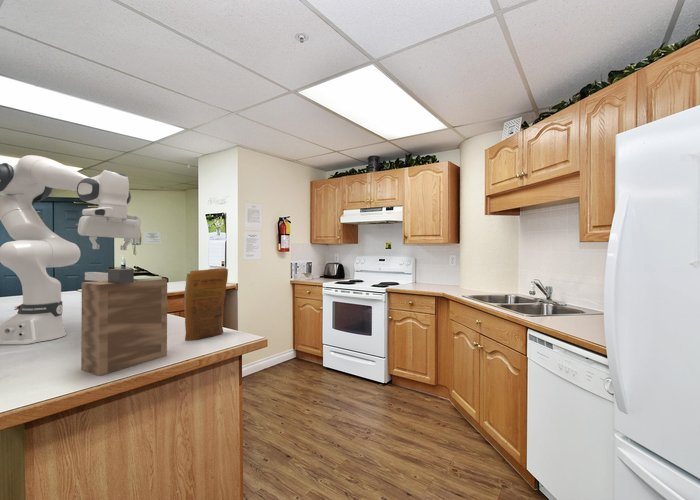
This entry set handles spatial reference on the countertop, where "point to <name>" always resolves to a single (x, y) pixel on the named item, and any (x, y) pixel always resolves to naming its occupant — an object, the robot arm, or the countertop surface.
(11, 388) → the countertop surface
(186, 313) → the pancake mix bag
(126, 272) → the grey metal bar
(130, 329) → the brown wooden box
